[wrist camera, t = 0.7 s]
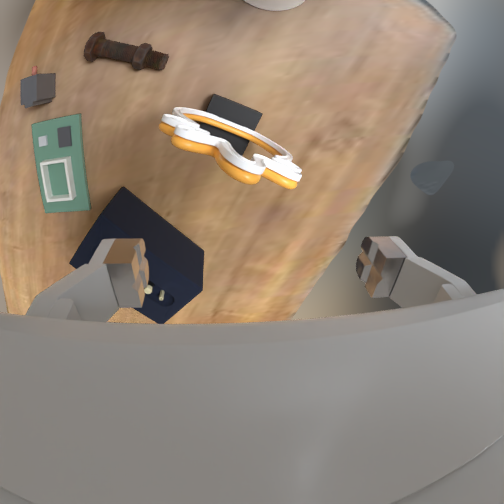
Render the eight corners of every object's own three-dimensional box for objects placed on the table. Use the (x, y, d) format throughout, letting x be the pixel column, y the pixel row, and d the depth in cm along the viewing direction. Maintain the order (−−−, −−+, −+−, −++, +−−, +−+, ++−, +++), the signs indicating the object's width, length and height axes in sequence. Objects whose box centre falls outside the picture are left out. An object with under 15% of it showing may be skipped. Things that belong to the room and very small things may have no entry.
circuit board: (34, 123, 39) (26, 126, 37) (81, 113, 41) (74, 115, 39) (47, 211, 50) (41, 217, 48) (91, 208, 52) (86, 214, 49)
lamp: (174, 130, 46) (120, 193, 20) (193, 86, 42) (156, 82, 16) (258, 162, 52) (307, 256, 25) (279, 121, 48) (358, 171, 21)
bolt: (167, 67, 41) (96, 51, 36) (175, 45, 37) (101, 28, 32) (156, 81, 38) (81, 63, 33) (164, 57, 34) (84, 39, 29)
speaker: (93, 226, 54) (66, 266, 42) (125, 182, 50) (98, 216, 38) (168, 281, 64) (160, 329, 52) (205, 247, 60) (203, 293, 48)
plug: (40, 68, 34) (21, 69, 28) (55, 64, 34) (37, 63, 28) (40, 104, 38) (21, 109, 32) (55, 100, 38) (36, 104, 32)
